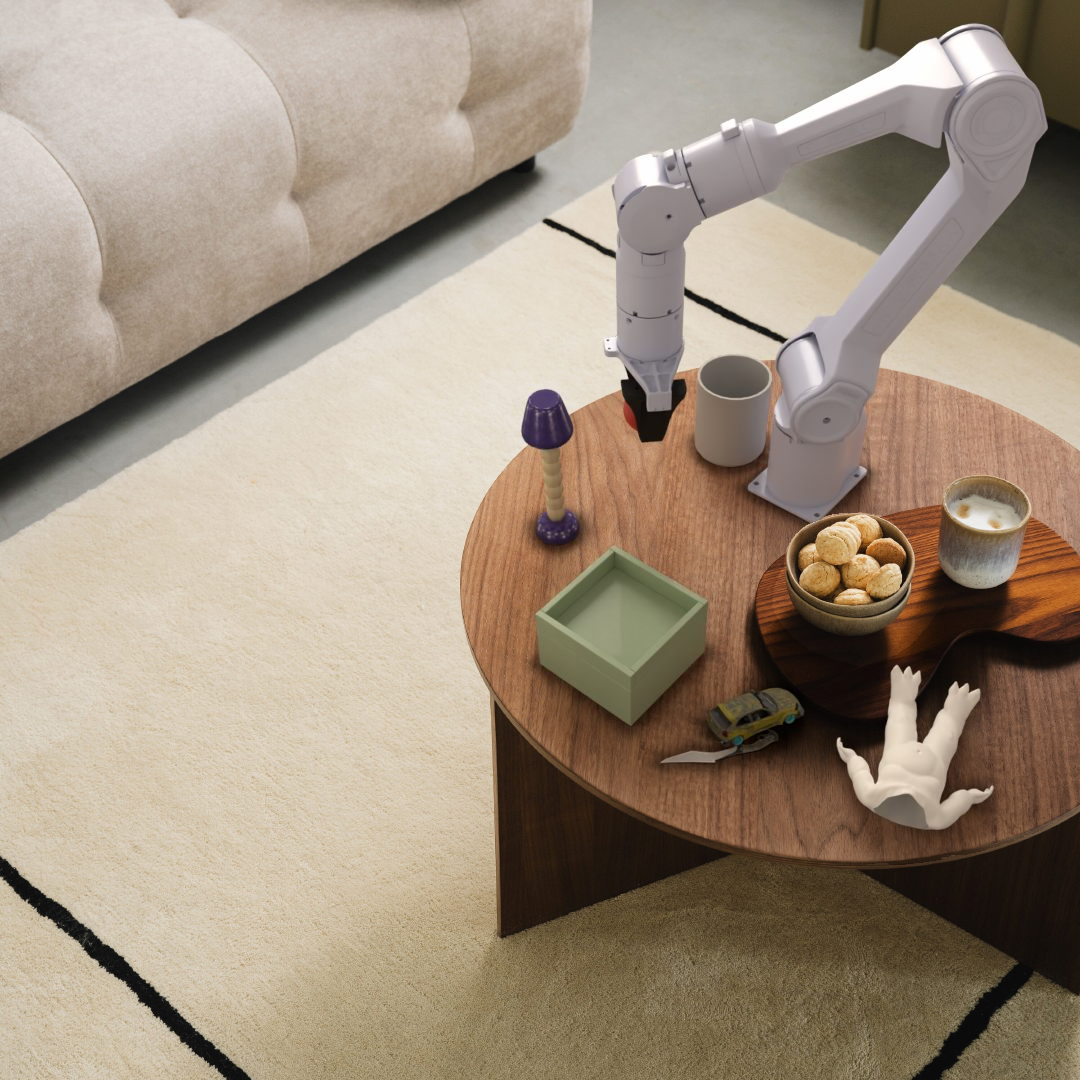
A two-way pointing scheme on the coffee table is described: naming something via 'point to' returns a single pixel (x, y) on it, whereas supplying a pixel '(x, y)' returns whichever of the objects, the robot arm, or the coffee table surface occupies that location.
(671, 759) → the knife
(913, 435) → the coffee table surface
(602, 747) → the coffee table surface
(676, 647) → the open box
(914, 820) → the toy creature
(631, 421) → the ball
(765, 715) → the race car
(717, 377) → the cup
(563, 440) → the toy lamp
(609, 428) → the coffee table surface
